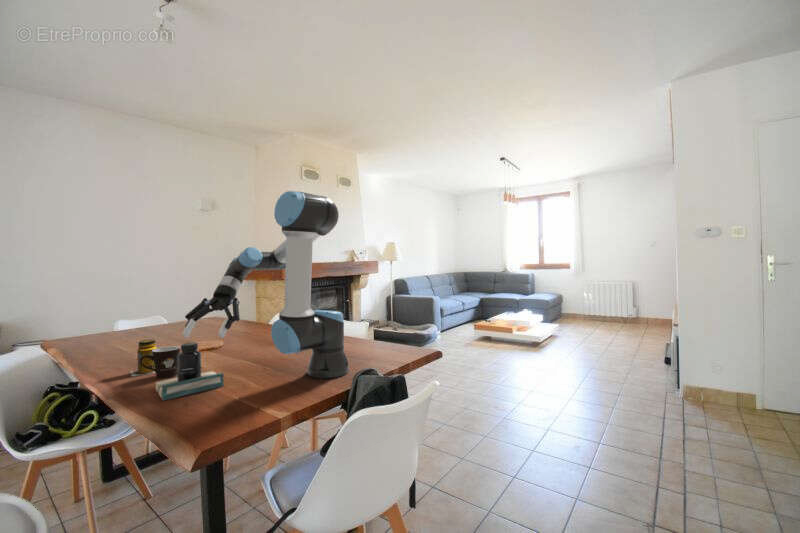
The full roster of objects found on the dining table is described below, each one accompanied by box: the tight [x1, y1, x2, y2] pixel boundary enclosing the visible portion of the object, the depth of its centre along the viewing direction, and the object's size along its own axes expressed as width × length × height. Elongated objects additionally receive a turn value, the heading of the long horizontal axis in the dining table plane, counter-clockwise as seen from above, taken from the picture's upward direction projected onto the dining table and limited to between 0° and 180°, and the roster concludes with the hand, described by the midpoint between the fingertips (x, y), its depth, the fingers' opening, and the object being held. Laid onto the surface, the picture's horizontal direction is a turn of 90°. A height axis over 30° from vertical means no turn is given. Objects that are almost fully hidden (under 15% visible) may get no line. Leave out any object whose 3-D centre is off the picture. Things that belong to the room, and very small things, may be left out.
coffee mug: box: [140, 345, 181, 380], centre depth 128 cm, size 12×9×10 cm
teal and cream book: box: [155, 370, 224, 401], centre depth 115 cm, size 13×17×4 cm
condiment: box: [129, 339, 158, 377], centre depth 133 cm, size 7×8×12 cm
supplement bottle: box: [176, 342, 202, 382], centre depth 116 cm, size 7×7×12 cm
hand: (202, 336), depth 123 cm, fingers open, 13 cm apart
